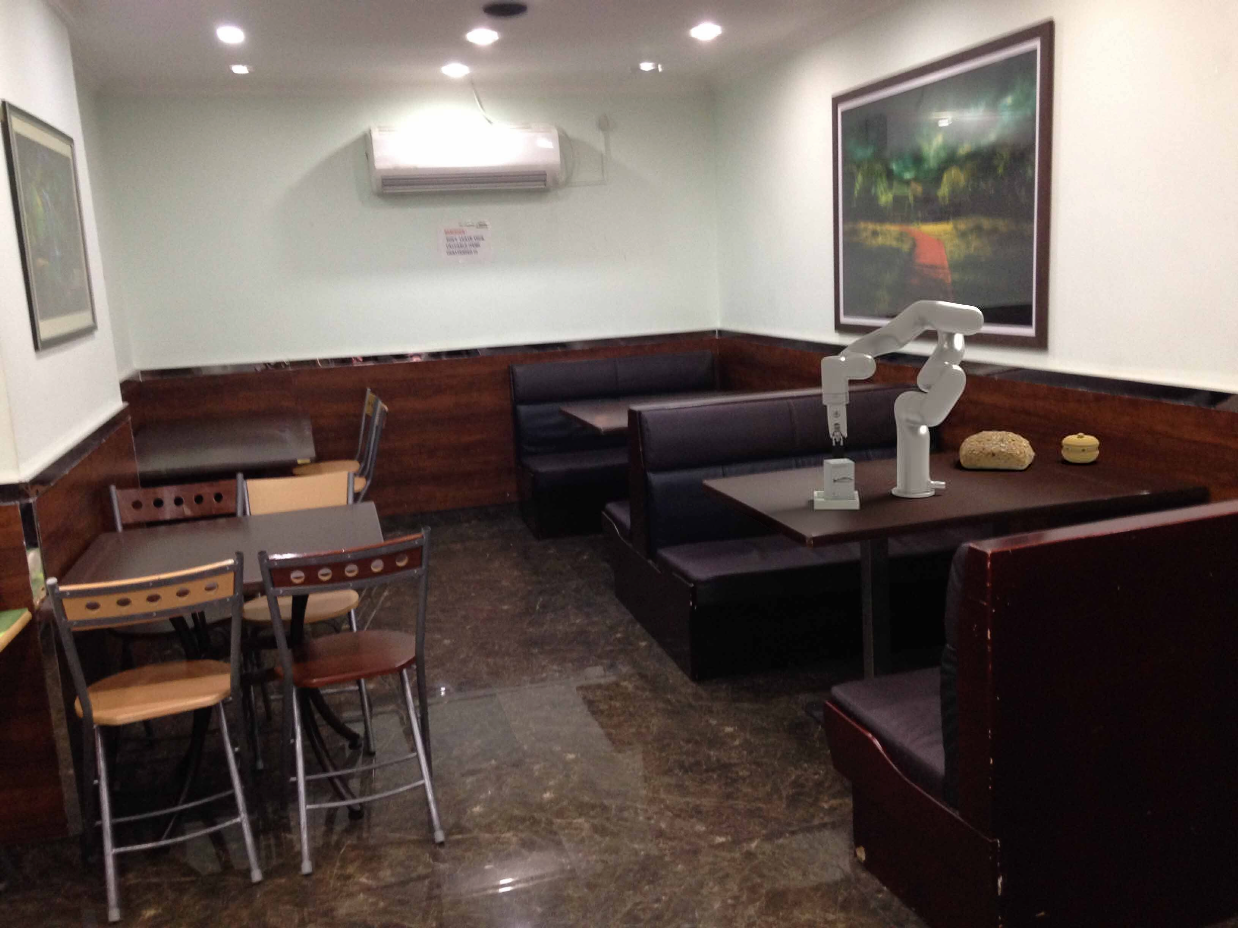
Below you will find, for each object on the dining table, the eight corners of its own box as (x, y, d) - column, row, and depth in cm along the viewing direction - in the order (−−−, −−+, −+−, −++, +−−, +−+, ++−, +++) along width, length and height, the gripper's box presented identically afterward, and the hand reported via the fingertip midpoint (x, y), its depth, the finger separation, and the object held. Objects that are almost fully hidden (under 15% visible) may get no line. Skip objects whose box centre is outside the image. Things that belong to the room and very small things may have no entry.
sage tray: (857, 498, 316) (857, 490, 316) (859, 509, 304) (859, 500, 303) (814, 499, 319) (814, 491, 318) (814, 509, 306) (814, 501, 306)
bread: (956, 470, 349) (957, 435, 347) (961, 458, 369) (962, 425, 366) (1034, 473, 340) (1035, 437, 338) (1035, 460, 360) (1036, 426, 357)
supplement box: (830, 505, 307) (830, 463, 305) (823, 500, 314) (822, 459, 312) (855, 503, 308) (854, 462, 305) (846, 498, 315) (846, 457, 313)
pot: (1053, 461, 357) (1054, 432, 355) (1081, 457, 360) (1082, 429, 358) (1077, 466, 346) (1078, 437, 344) (1106, 463, 349) (1107, 434, 347)
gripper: (849, 402, 296) (851, 460, 300) (847, 393, 313) (849, 448, 316) (822, 403, 298) (825, 461, 301) (822, 394, 314) (824, 449, 318)
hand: (837, 455), depth 309 cm, fingers open, 9 cm apart
